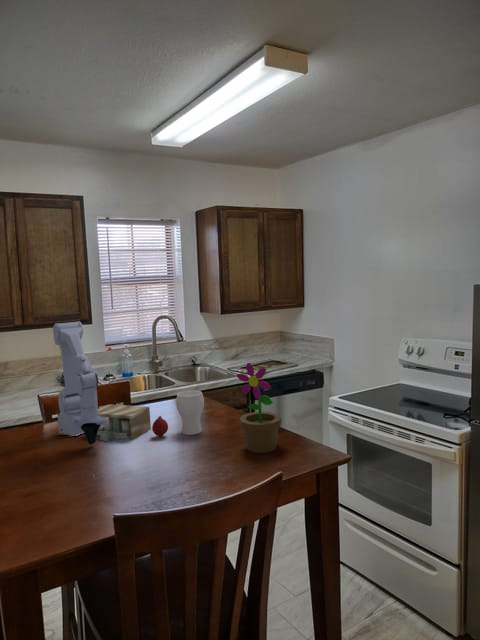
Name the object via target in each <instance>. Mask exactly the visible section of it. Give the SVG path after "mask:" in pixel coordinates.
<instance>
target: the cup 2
mask: <svg viewBox="0 0 480 640" xmlns="http://www.w3.org/2000/svg"><path fill="white" fill-rule="evenodd" d="M204 399H205V398H204V395H203V392H202V391H201V390H193V389H192V390H185V391H184V390H183V391H179V392H178V393H177V394H176V400H175V404H176V405H175V406H176V407H175V408H176V409H177V412H178V414H179V416H180V417H181V424H182V426H181V434H183V435H185V436H187V435H188V436H193V435H198V434H200V433H201V432H203V429H202V424H201V416H202V413H203V411H204V407H205V400H204Z"/></svg>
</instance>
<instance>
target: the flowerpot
mask: <svg viewBox="0 0 480 640" xmlns="http://www.w3.org/2000/svg"><path fill="white" fill-rule="evenodd" d="M245 367H246V368H245V369H246V371H247V374H244V373H237V374H236V377H237V378H238V380H239V381H242V382H244V383H247V382H248V383H247V384H245V385H244V386H242V388H241V394H242V395H246V394H248V393H249V392H250V391H251V389H252V393H253V396H254V398H255V399H256V400H257V401H258V402H257V403H258V404H257V403H251V404H250V405H248V406H247V407H248V408H249V409H251V410H254V412H248V413H245V414H243V415H241V416H240V417H239V421H238V422H239V426H240V427H241V428H242V429H243V434H244V440H245V447H246V449H247V450H248V451H249V452H253V453H254V454H255V453H258V454H259V453H260V454H264V453H271V452H273V451H274V450H276V449H277V443H278V433H279V427H281V425H282V416H281V415H280V414H278V413H275V412H271V411H262V404H263V405H267V406H269V405H270V406H271V405H272V404H273V400H272V399H271V397H269V396H268V395H265V394H264V395H262V394H261V391H260V389H263V390H270V389H271V387H272V386H271V385H270V383H268V382H267V381H264V380H260V381H259V379H262V378H263V377H264V376H265V375H266V372H267V369H266V367H263V368H260V369H259V370H257V372H256V373H255V369H254V366H253V365H252V363H250V362H247V363H246V366H245ZM248 375H249V376H248ZM255 411H256V412H255Z"/></svg>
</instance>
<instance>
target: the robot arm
mask: <svg viewBox="0 0 480 640" xmlns="http://www.w3.org/2000/svg"><path fill="white" fill-rule="evenodd" d="M52 331H53V332H52V333H53V340H54V345H57V346H58V347H59V348H60V349H59V350H60V354H61V362H62V363H61V364H62V371H63V379H64V380H63V381H64V387H63V388H62V389H61V390H60V391H59V392H58V408H59V411H60V413H58V415H57V416H58V417H57V424H58V426H57V427H58V434H59V433H64V434H68V435H71V436H70V437H72V436H75V435H76V436H78V435H80V434H82V435H85V437H86V439H87V442H88V444H89V445H94V444H95V443H96V440H97V437H98V436H97V432H98V430H99V429H100V428H101V426H103V427H104V426H106V425H108V424H109V419H108V418H107V417H103V416H98V409H99V406H98V391H97V390H98V389H97V388H98V387H99V377H98V373H97V371H95V369H94V368H93V367H92V365H91V362H90V359H89V357H88V355H85V354H84V348H83V345H82V341H81V340H82V338H83V334H84V327H83V324H82V322H81V321H79V320H78V321H71V322H63V323H62V322H61V323H59V322H58V323H57V322H56V323H54V324H53V328H52ZM83 433H84V434H83ZM80 436H81V435H80ZM78 437H79V436H78Z"/></svg>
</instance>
